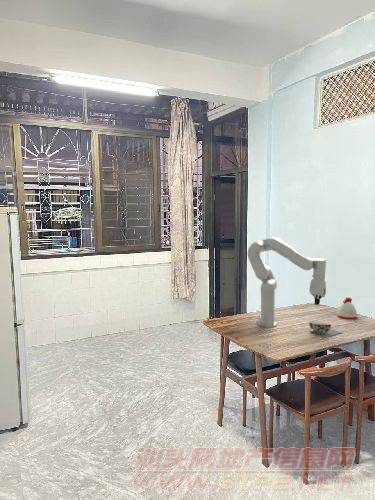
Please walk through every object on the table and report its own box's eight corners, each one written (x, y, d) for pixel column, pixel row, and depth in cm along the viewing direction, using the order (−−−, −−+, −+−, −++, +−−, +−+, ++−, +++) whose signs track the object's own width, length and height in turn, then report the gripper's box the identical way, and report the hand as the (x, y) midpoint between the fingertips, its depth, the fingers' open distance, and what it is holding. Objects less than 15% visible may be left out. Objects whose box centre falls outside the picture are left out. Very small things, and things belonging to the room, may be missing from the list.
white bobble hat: (360, 318, 274) (361, 298, 273) (347, 320, 269) (347, 300, 267) (346, 313, 287) (347, 294, 285) (332, 315, 282) (333, 296, 280)
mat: (310, 332, 242) (310, 331, 242) (326, 328, 251) (326, 327, 251) (326, 337, 232) (326, 336, 232) (341, 332, 241) (341, 332, 241)
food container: (306, 331, 245) (313, 333, 235) (306, 322, 246) (314, 324, 236) (323, 332, 247) (331, 334, 237) (323, 323, 247) (331, 324, 238)
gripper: (306, 276, 248) (304, 302, 250) (324, 280, 235) (322, 307, 237) (313, 275, 252) (311, 301, 254) (332, 279, 239) (330, 306, 241)
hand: (316, 304), depth 246 cm, fingers closed
